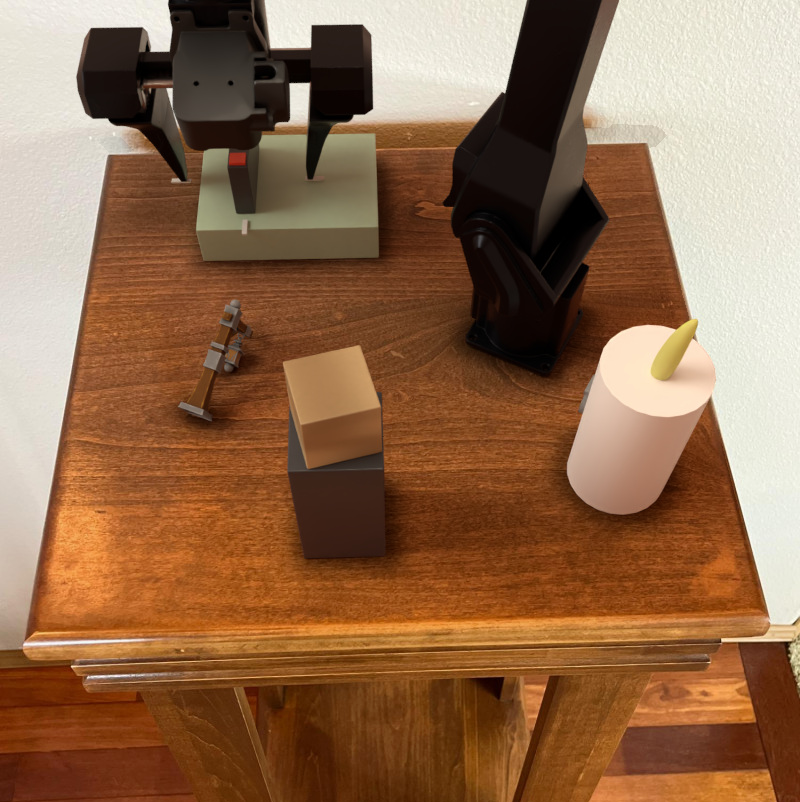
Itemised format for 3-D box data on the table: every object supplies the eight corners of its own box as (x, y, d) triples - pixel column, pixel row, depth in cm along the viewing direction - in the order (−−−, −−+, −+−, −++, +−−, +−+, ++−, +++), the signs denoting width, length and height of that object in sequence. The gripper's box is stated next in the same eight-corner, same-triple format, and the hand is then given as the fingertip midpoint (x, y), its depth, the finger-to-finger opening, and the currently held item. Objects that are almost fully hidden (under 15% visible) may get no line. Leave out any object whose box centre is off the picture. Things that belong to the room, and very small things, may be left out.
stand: (383, 486, 58) (381, 391, 49) (385, 556, 55) (384, 469, 46) (305, 488, 57) (289, 393, 49) (303, 558, 55) (287, 471, 46)
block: (362, 392, 49) (360, 344, 45) (382, 452, 47) (381, 406, 43) (290, 409, 48) (282, 361, 45) (307, 470, 46) (300, 425, 43)
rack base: (375, 160, 72) (375, 125, 69) (379, 263, 67) (378, 231, 64) (186, 163, 72) (177, 129, 69) (174, 268, 66) (164, 235, 64)
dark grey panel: (241, 147, 68) (232, 97, 64) (259, 147, 68) (252, 97, 64) (236, 213, 65) (226, 164, 61) (255, 213, 65) (247, 164, 61)
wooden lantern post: (266, 322, 63) (245, 299, 58) (225, 429, 62) (201, 414, 58) (243, 315, 63) (220, 291, 59) (201, 421, 63) (176, 405, 58)
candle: (585, 416, 60) (639, 248, 47) (678, 455, 59) (760, 292, 46) (548, 488, 58) (594, 331, 44) (644, 530, 56) (721, 381, 43)
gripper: (25, 45, 48) (106, 260, 62) (372, 41, 49) (376, 255, 63) (56, -72, 54) (124, 150, 67) (369, -75, 54) (373, 146, 68)
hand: (247, 176), depth 66 cm, fingers open, 9 cm apart
